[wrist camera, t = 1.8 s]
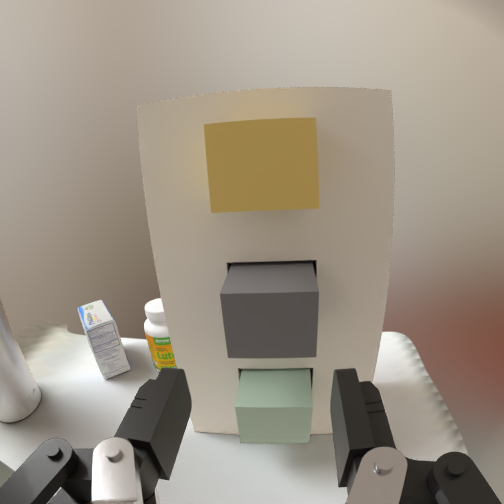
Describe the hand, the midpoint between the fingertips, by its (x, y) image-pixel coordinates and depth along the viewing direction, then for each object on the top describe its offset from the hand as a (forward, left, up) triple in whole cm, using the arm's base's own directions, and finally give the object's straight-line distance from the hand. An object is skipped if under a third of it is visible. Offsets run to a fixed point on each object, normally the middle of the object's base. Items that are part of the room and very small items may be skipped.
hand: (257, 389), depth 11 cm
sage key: (0, +12, -15) cm, 20 cm away
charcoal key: (0, +12, -5) cm, 13 cm away
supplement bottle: (-15, +25, -20) cm, 36 cm away
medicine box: (-25, +24, -20) cm, 40 cm away
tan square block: (0, +12, +5) cm, 13 cm away
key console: (0, +17, -20) cm, 27 cm away
